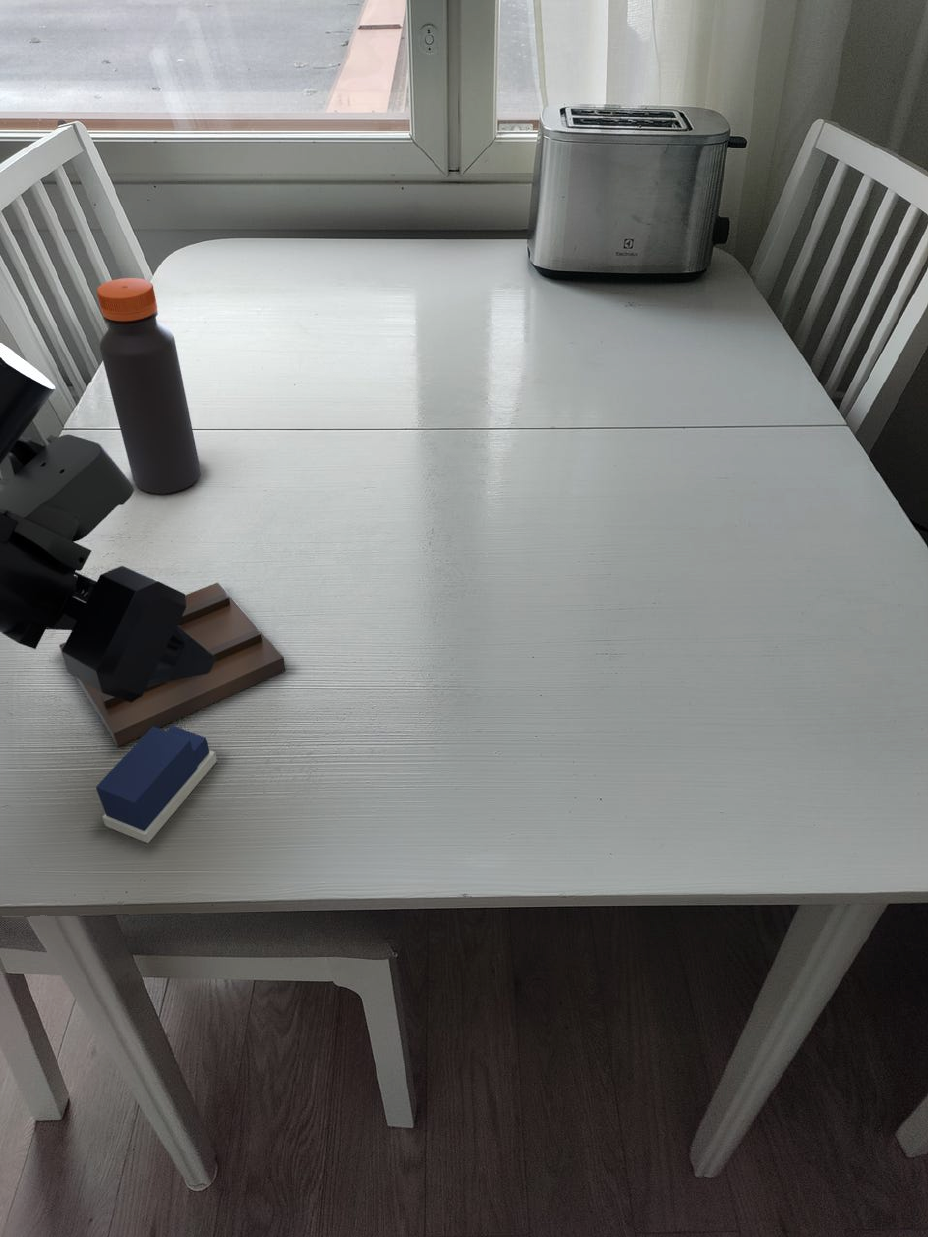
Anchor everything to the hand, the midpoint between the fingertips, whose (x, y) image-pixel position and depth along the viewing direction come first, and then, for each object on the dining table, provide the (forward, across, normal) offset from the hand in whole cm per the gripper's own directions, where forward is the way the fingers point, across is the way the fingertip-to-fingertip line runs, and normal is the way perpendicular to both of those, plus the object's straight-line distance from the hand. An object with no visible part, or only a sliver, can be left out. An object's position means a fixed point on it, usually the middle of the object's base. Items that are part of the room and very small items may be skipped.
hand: (167, 643), depth 60 cm
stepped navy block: (+8, +3, +10) cm, 13 cm away
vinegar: (+20, +36, -14) cm, 44 cm away
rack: (+12, +13, +2) cm, 18 cm away
